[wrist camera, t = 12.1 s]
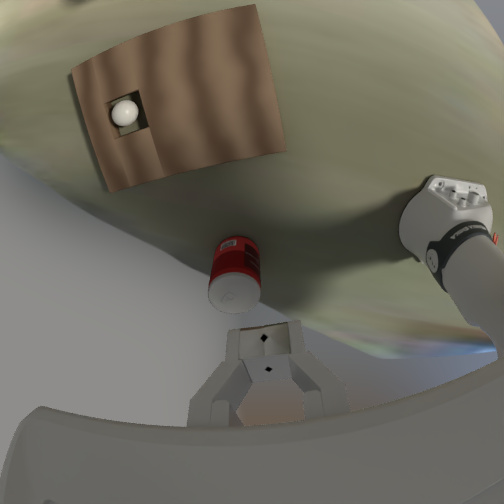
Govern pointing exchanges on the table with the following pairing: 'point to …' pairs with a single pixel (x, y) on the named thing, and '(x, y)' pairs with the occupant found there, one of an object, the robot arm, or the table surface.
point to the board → (183, 98)
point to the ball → (124, 113)
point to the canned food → (235, 276)
